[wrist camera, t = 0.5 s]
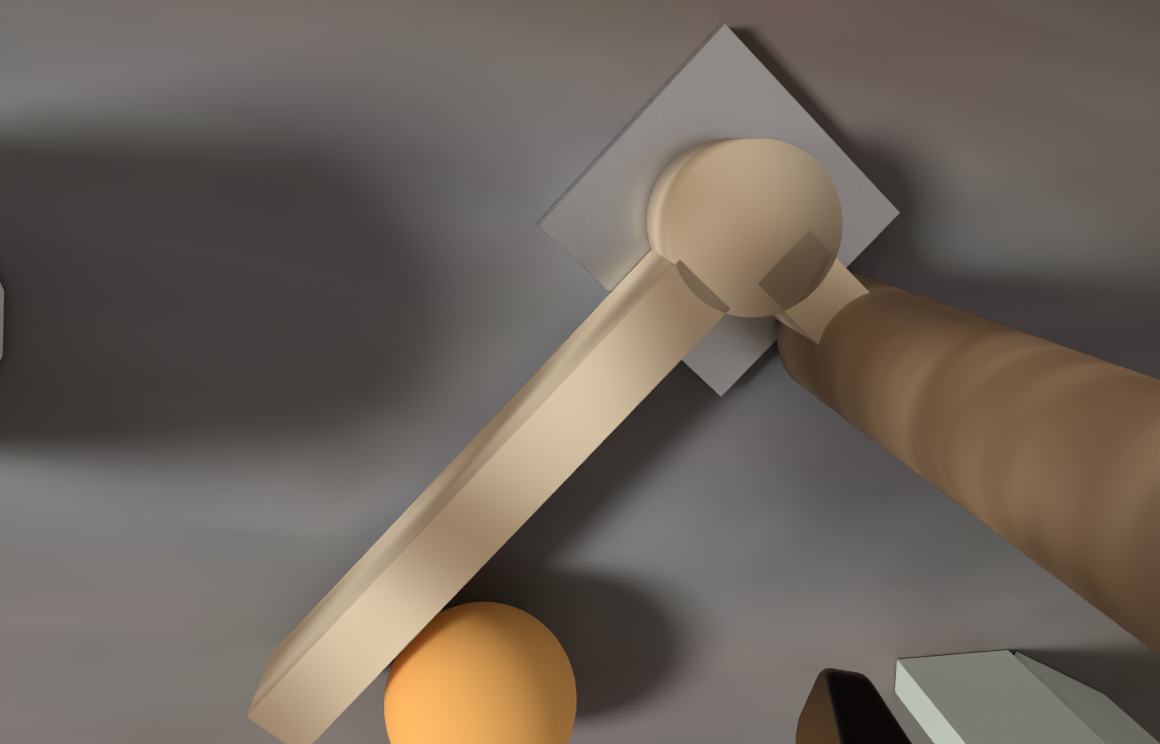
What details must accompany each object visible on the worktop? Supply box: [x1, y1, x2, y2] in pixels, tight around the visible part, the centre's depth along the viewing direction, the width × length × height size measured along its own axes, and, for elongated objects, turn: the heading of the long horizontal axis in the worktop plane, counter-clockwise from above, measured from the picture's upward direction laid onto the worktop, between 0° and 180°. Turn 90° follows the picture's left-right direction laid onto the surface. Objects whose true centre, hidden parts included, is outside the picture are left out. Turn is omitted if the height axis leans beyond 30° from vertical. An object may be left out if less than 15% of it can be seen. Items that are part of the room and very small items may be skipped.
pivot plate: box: [537, 24, 900, 396], centre depth 22 cm, size 6×6×1 cm
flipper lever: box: [247, 139, 1160, 744], centre depth 16 cm, size 17×7×14 cm, turn 137°
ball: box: [384, 602, 577, 744], centre depth 22 cm, size 4×4×4 cm
